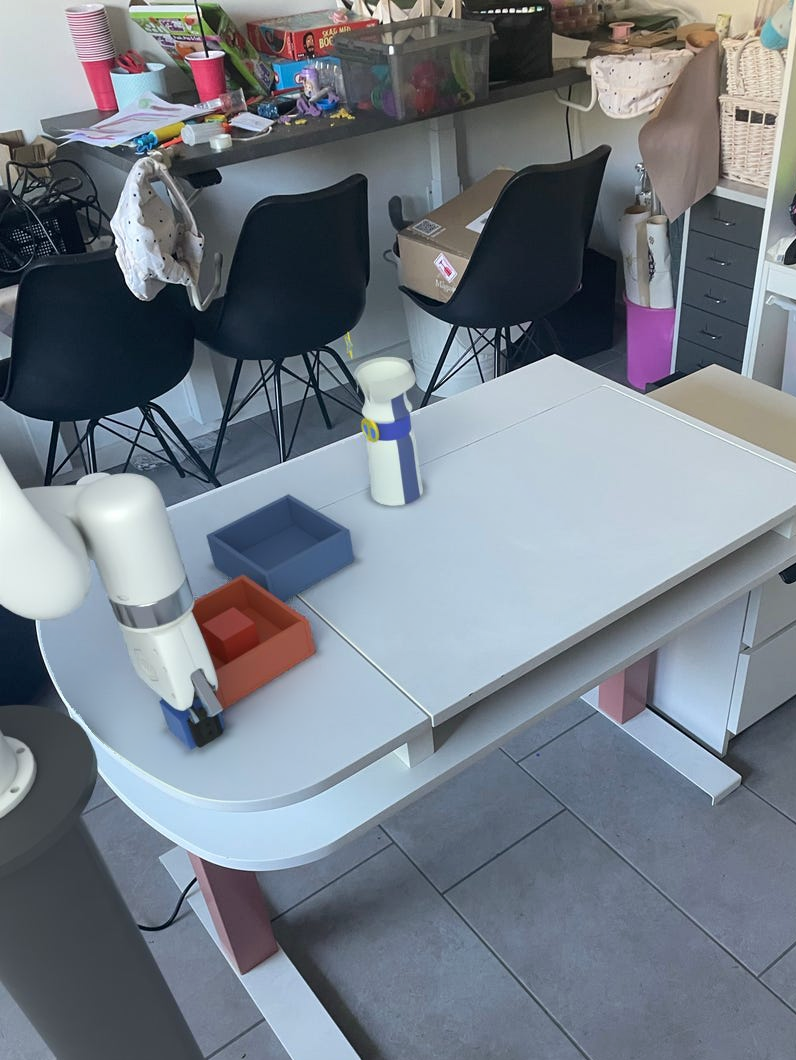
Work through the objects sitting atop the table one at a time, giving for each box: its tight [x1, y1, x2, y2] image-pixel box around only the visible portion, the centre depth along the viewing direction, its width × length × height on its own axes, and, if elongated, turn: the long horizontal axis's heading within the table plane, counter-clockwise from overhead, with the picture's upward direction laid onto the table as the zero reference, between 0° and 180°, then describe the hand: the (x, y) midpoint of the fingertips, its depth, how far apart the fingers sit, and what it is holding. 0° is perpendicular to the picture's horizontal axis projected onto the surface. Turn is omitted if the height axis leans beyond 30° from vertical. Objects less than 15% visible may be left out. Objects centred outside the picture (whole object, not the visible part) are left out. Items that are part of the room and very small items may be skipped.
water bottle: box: [344, 331, 424, 507], centre depth 130 cm, size 8×9×25 cm
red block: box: [202, 607, 260, 665], centre depth 110 cm, size 4×4×4 cm
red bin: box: [191, 575, 317, 711], centre depth 111 cm, size 13×13×5 cm
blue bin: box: [205, 493, 355, 603], centre depth 125 cm, size 13×13×5 cm
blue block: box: [158, 699, 226, 750], centre depth 102 cm, size 4×4×4 cm
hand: (196, 726), depth 103 cm, fingers closed on blue block, 4 cm apart
